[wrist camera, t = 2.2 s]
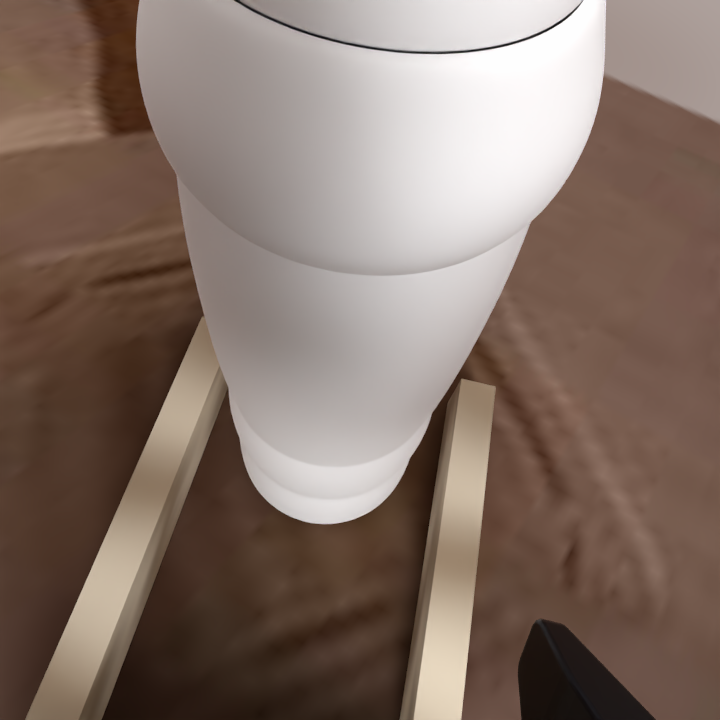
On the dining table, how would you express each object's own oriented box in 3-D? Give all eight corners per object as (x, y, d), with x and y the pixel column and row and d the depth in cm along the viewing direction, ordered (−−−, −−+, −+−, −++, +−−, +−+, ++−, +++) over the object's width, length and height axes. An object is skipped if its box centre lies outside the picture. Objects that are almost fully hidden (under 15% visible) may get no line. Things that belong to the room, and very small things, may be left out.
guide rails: (426, 849, 18) (444, 875, 16) (41, 750, 18) (5, 763, 16) (478, 409, 26) (495, 386, 23) (210, 345, 26) (201, 316, 24)
